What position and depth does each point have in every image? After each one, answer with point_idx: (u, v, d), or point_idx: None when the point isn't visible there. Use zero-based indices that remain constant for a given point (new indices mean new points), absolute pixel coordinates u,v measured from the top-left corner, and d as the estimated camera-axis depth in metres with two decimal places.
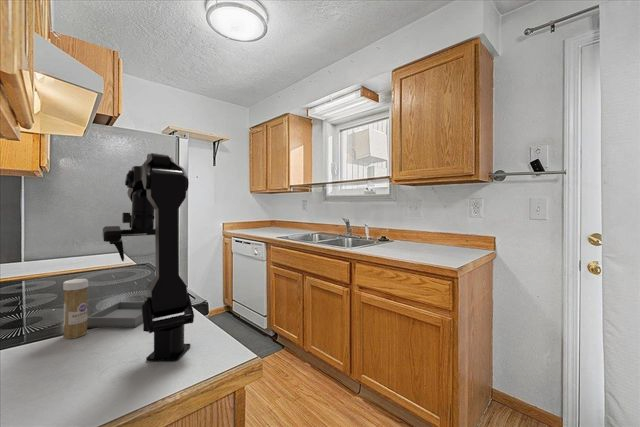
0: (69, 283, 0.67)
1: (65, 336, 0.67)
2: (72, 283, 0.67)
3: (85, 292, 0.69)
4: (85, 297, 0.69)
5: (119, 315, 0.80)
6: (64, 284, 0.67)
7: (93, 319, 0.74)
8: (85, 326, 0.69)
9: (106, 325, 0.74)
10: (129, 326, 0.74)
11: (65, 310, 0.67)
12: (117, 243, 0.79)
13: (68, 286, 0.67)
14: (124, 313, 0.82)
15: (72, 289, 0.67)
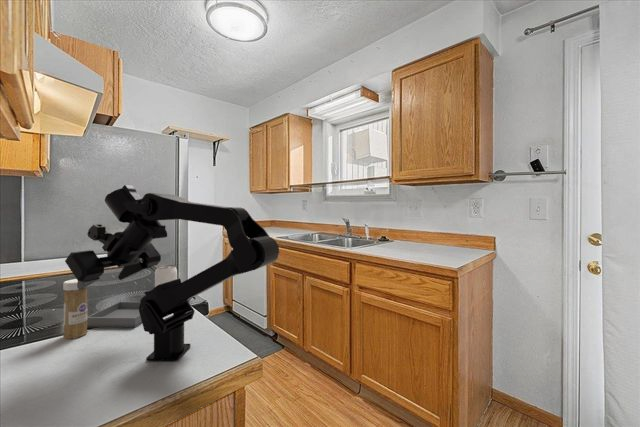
0: (69, 283, 0.67)
1: (65, 336, 0.67)
2: (72, 283, 0.67)
3: (85, 292, 0.69)
4: (85, 297, 0.69)
5: (119, 315, 0.80)
6: (64, 284, 0.67)
7: (93, 319, 0.74)
8: (85, 326, 0.69)
9: (106, 325, 0.74)
10: (129, 326, 0.74)
11: (65, 310, 0.67)
12: (93, 280, 0.59)
13: (68, 286, 0.67)
14: (124, 313, 0.82)
15: (72, 289, 0.67)
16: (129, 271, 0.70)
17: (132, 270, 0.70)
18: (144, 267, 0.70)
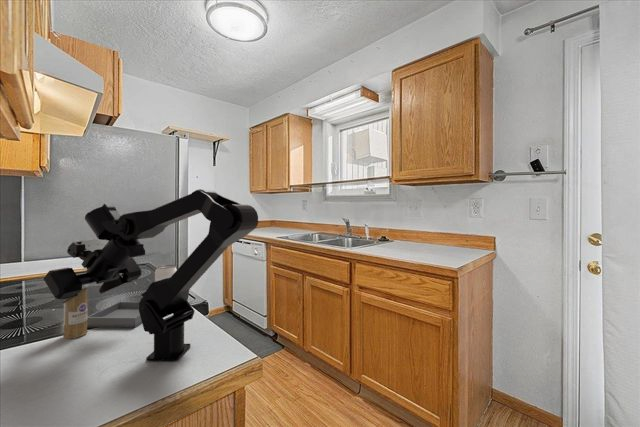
0: None
1: (65, 336, 0.67)
2: None
3: (85, 292, 0.69)
4: (85, 297, 0.69)
5: (119, 315, 0.80)
6: None
7: (93, 319, 0.74)
8: (85, 326, 0.69)
9: (106, 325, 0.74)
10: (129, 326, 0.74)
11: (65, 310, 0.67)
12: (71, 297, 0.61)
13: None
14: (124, 313, 0.82)
15: None
16: (110, 285, 0.72)
17: (112, 284, 0.72)
18: (124, 282, 0.72)
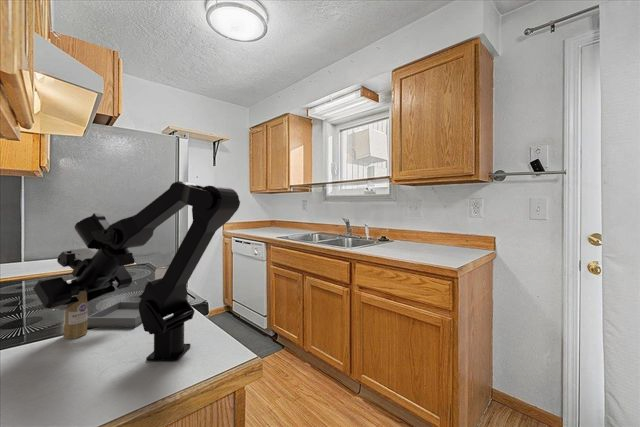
0: (69, 283, 0.67)
1: (65, 336, 0.67)
2: None
3: (85, 292, 0.69)
4: (85, 297, 0.69)
5: (119, 315, 0.80)
6: None
7: (93, 319, 0.74)
8: (85, 326, 0.69)
9: (106, 325, 0.74)
10: (129, 326, 0.74)
11: (65, 310, 0.67)
12: (72, 303, 0.64)
13: None
14: (124, 313, 0.82)
15: None
16: (91, 295, 0.71)
17: (94, 295, 0.71)
18: (106, 292, 0.71)
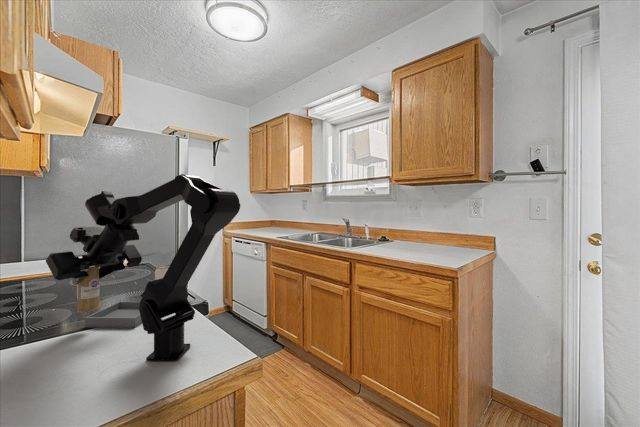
0: None
1: (78, 310, 0.70)
2: None
3: (97, 269, 0.72)
4: (97, 273, 0.72)
5: (119, 315, 0.80)
6: None
7: (93, 319, 0.74)
8: (97, 301, 0.72)
9: (106, 325, 0.74)
10: (129, 326, 0.74)
11: (77, 284, 0.70)
12: (82, 277, 0.66)
13: None
14: (124, 313, 0.82)
15: None
16: (103, 272, 0.73)
17: (105, 271, 0.73)
18: (116, 269, 0.73)
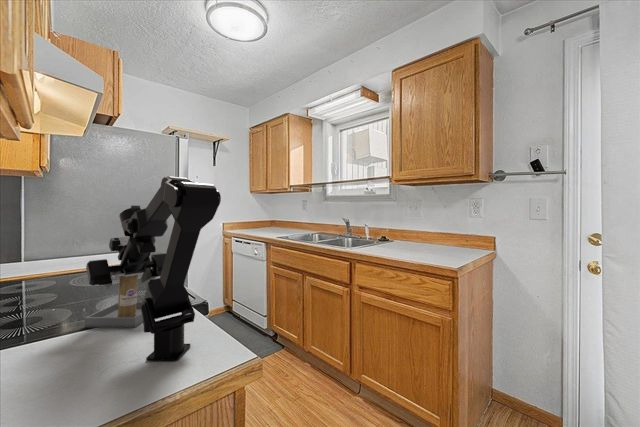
0: None
1: (117, 315, 0.78)
2: None
3: (134, 279, 0.80)
4: (134, 284, 0.80)
5: None
6: None
7: (93, 319, 0.74)
8: (133, 309, 0.80)
9: (106, 325, 0.74)
10: (129, 326, 0.74)
11: None
12: (106, 284, 0.72)
13: None
14: None
15: (123, 275, 0.78)
16: (145, 277, 0.82)
17: (147, 277, 0.82)
18: (154, 275, 0.80)
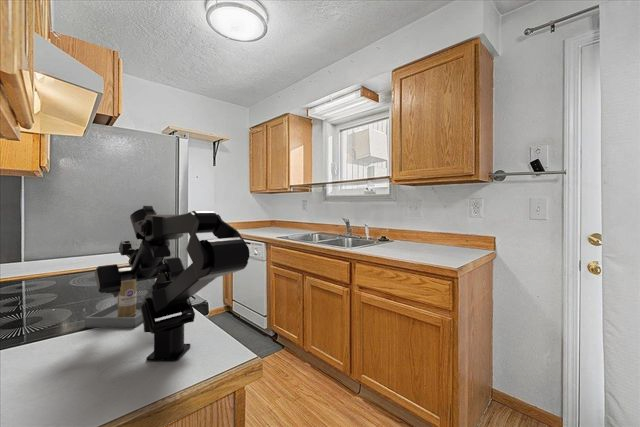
0: (119, 270, 0.78)
1: (117, 315, 0.78)
2: (121, 271, 0.78)
3: (133, 280, 0.79)
4: (132, 284, 0.79)
5: None
6: None
7: (93, 319, 0.74)
8: (132, 309, 0.79)
9: (106, 325, 0.74)
10: (129, 326, 0.74)
11: None
12: (114, 291, 0.66)
13: None
14: None
15: None
16: (159, 283, 0.77)
17: (161, 282, 0.76)
18: (168, 280, 0.75)
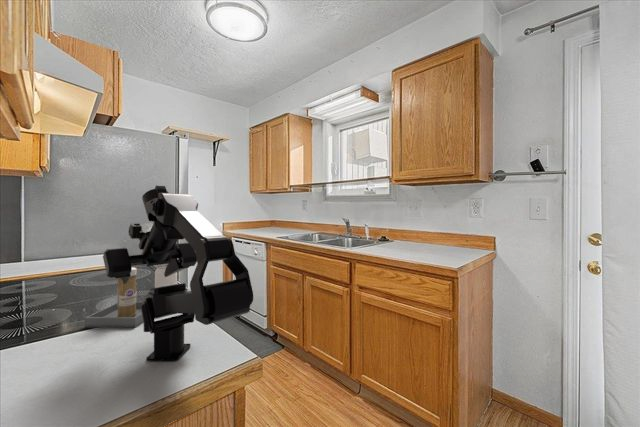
0: None
1: (117, 315, 0.78)
2: None
3: (132, 279, 0.79)
4: (132, 284, 0.79)
5: None
6: None
7: (93, 319, 0.74)
8: (132, 309, 0.79)
9: (106, 325, 0.74)
10: (129, 326, 0.74)
11: (117, 293, 0.78)
12: (124, 277, 0.61)
13: None
14: None
15: None
16: (170, 269, 0.72)
17: (172, 269, 0.72)
18: (180, 267, 0.70)
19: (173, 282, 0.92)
